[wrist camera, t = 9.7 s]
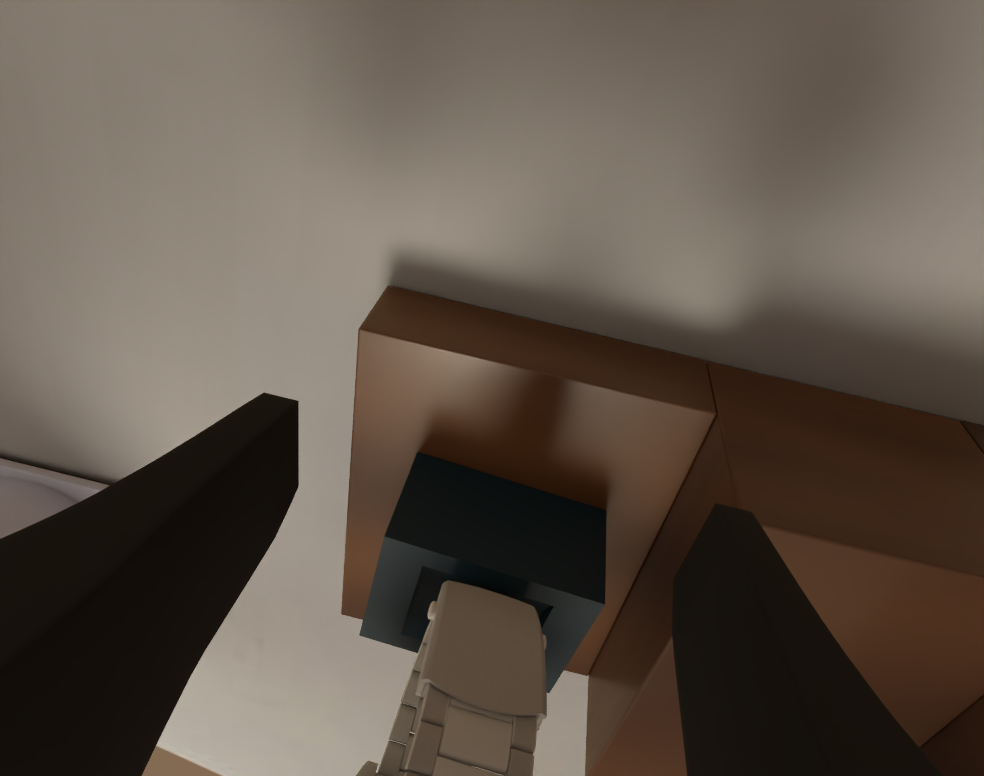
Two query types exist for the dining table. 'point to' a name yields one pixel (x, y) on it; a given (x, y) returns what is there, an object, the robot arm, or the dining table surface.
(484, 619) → the watch
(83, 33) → the dining table surface
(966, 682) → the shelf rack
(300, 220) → the dining table surface
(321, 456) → the dining table surface
